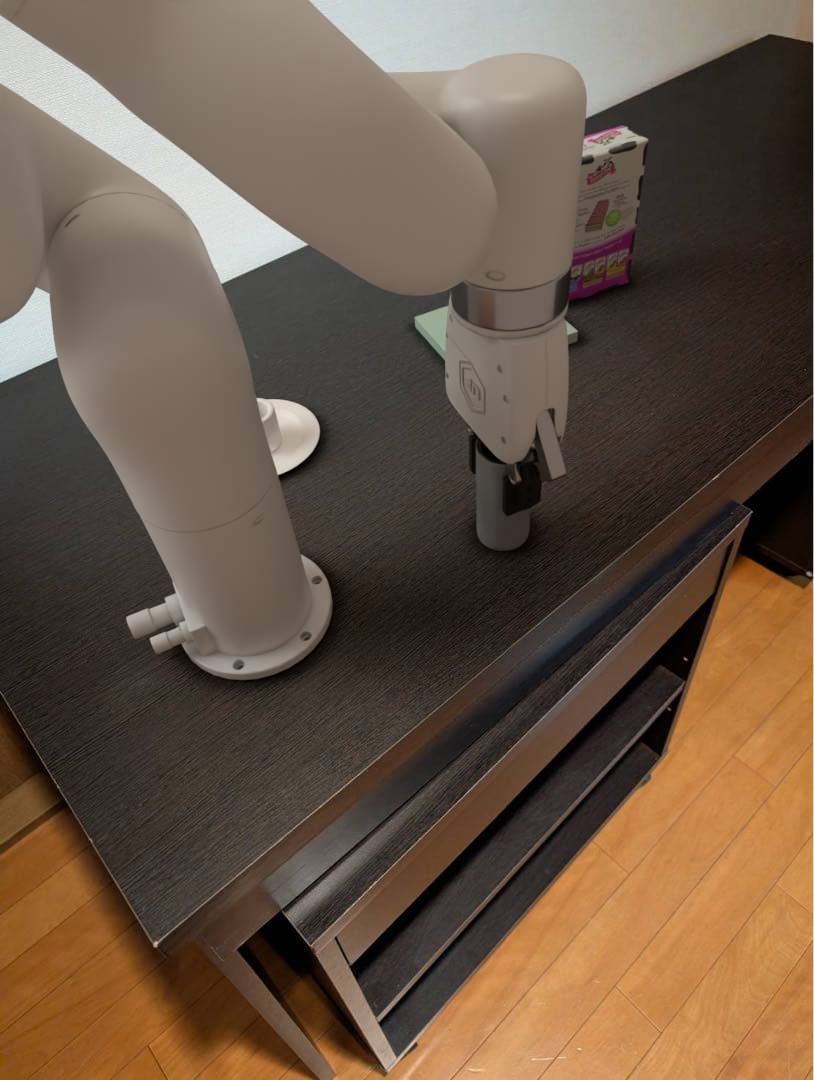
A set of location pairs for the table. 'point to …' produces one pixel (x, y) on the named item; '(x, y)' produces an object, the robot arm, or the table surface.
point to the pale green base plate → (435, 329)
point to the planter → (497, 503)
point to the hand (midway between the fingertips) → (504, 485)
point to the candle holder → (288, 432)
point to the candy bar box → (607, 210)
